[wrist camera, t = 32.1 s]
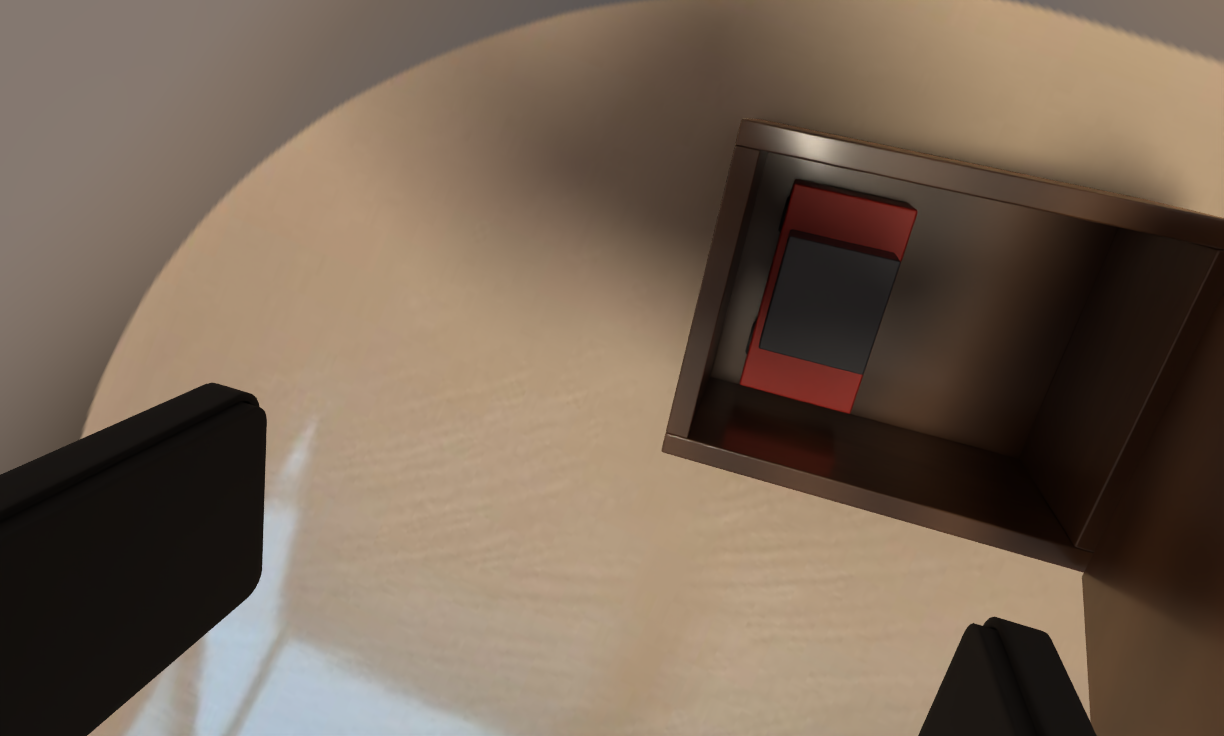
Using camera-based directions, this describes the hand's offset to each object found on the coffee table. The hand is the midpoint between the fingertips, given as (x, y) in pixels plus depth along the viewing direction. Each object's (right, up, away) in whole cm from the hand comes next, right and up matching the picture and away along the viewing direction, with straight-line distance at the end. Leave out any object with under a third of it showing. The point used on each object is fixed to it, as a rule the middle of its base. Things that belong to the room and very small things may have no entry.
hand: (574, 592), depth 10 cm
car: (+9, +6, +21) cm, 24 cm away
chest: (+12, +6, +21) cm, 25 cm away
